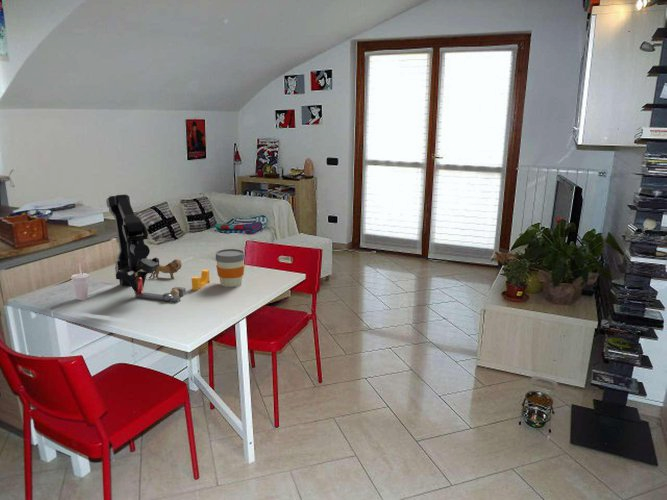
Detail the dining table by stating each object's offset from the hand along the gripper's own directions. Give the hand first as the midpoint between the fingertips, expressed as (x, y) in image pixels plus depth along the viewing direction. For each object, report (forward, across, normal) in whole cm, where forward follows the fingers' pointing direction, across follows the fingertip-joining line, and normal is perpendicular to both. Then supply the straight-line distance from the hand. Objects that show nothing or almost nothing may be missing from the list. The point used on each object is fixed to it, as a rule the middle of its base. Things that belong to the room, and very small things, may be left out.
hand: (138, 290), depth 200 cm
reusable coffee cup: (+4, +27, -27) cm, 38 cm away
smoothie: (+4, -6, +22) cm, 23 cm away
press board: (+4, -2, -4) cm, 6 cm away
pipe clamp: (+4, +20, -15) cm, 26 cm away
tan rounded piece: (+3, +4, -14) cm, 14 cm away
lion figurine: (+4, +27, +5) cm, 27 cm away
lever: (+3, 0, -8) cm, 9 cm away
